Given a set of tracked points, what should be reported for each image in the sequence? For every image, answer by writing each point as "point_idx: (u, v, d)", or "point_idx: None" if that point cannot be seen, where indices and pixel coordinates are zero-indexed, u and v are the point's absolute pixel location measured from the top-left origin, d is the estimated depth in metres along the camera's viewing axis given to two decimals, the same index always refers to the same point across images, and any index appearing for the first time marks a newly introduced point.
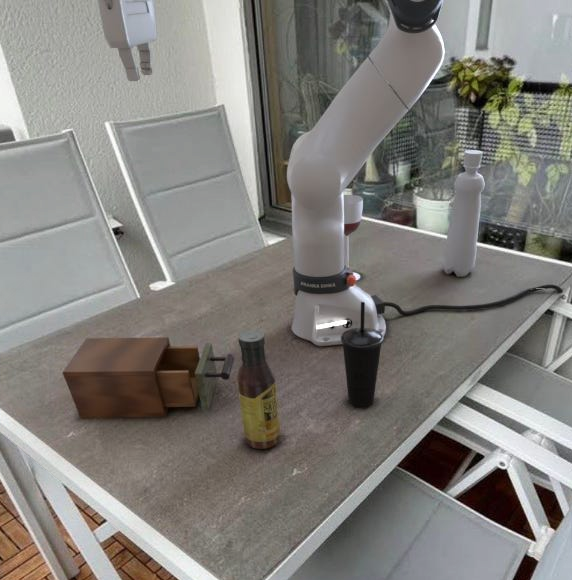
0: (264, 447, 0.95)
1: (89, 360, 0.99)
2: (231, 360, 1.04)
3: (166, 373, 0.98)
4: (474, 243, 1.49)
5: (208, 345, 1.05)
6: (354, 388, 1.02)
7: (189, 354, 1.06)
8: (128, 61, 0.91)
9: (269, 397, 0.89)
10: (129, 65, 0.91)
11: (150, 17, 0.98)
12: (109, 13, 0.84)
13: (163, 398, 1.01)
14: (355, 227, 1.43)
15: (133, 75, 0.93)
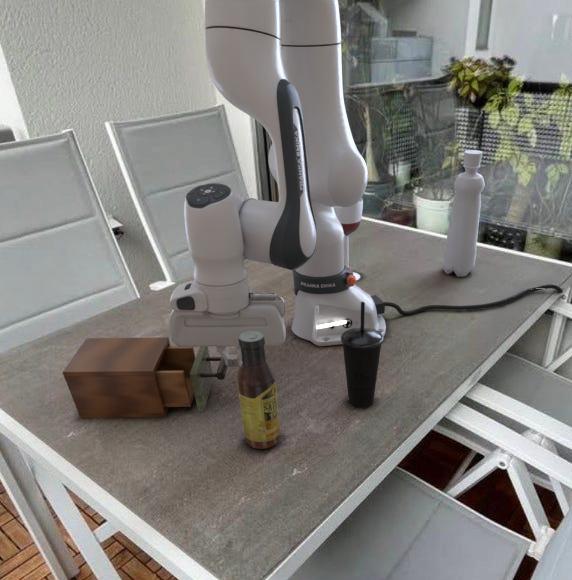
0: (264, 447, 0.95)
1: (89, 360, 0.99)
2: None
3: (161, 373, 0.98)
4: (474, 243, 1.49)
5: None
6: (354, 388, 1.02)
7: (185, 354, 1.06)
8: None
9: (269, 397, 0.89)
10: None
11: None
12: (282, 320, 0.97)
13: None
14: (355, 227, 1.43)
15: (241, 360, 1.02)
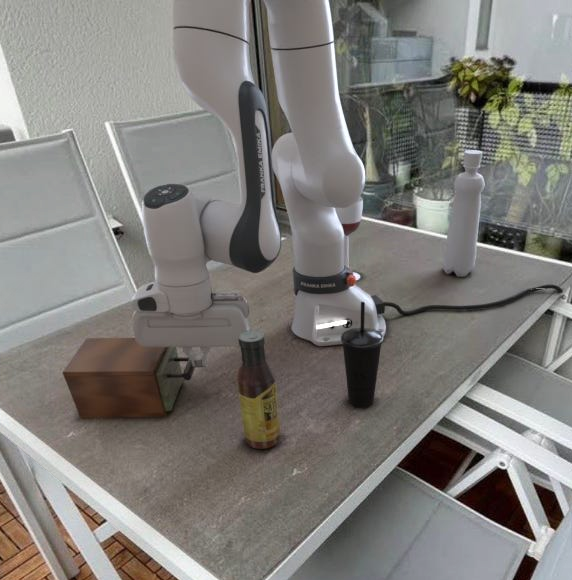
0: (264, 447, 0.95)
1: (89, 360, 0.99)
2: None
3: None
4: (474, 243, 1.49)
5: None
6: (354, 388, 1.02)
7: None
8: None
9: (269, 397, 0.89)
10: None
11: None
12: (246, 321, 0.97)
13: None
14: (355, 227, 1.43)
15: (206, 361, 1.02)
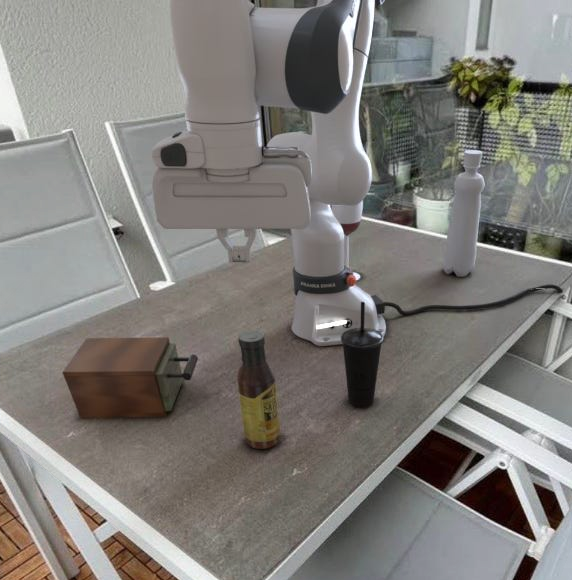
0: (264, 447, 0.95)
1: (89, 360, 0.99)
2: (194, 360, 1.04)
3: None
4: (474, 243, 1.49)
5: (171, 345, 1.05)
6: (354, 388, 1.02)
7: None
8: None
9: (269, 397, 0.89)
10: None
11: None
12: (307, 191, 0.71)
13: None
14: (355, 227, 1.43)
15: (250, 254, 0.76)
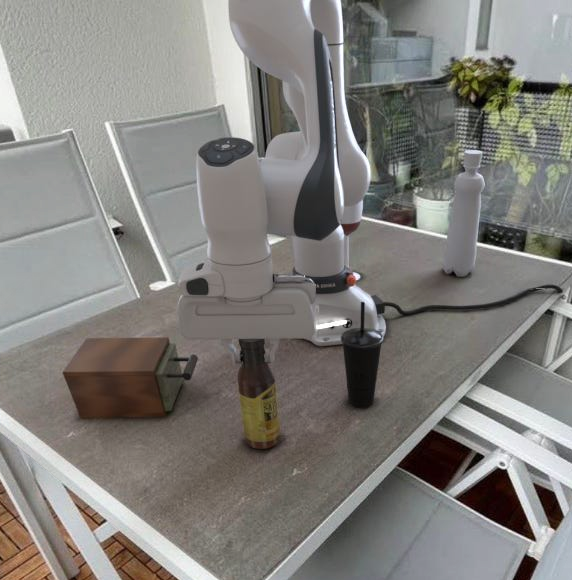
0: (264, 448, 0.95)
1: (89, 360, 0.99)
2: (194, 360, 1.04)
3: None
4: (474, 243, 1.49)
5: (171, 345, 1.05)
6: (354, 388, 1.02)
7: None
8: None
9: (269, 397, 0.89)
10: None
11: None
12: (312, 308, 0.81)
13: None
14: (355, 227, 1.43)
15: None
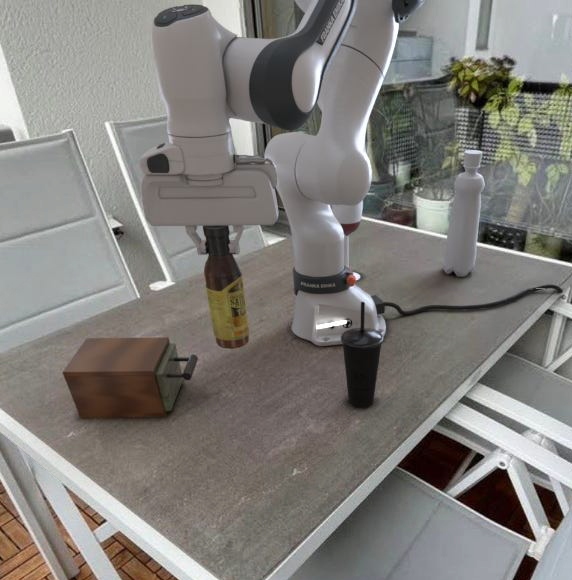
0: (233, 347, 0.96)
1: (89, 360, 0.99)
2: (194, 360, 1.04)
3: None
4: (474, 243, 1.49)
5: (171, 345, 1.05)
6: (354, 388, 1.02)
7: None
8: None
9: (235, 291, 0.90)
10: None
11: None
12: (274, 193, 0.82)
13: None
14: (355, 227, 1.43)
15: (239, 247, 0.88)
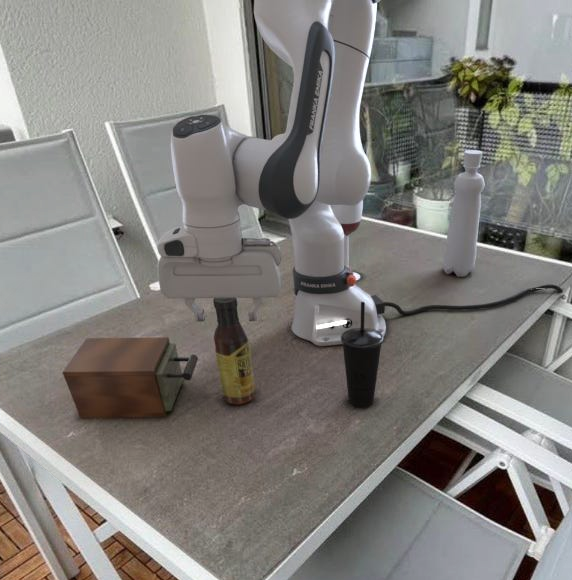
0: (240, 403, 1.05)
1: (89, 360, 0.99)
2: (194, 360, 1.04)
3: None
4: (474, 243, 1.49)
5: (171, 345, 1.05)
6: (354, 388, 1.02)
7: None
8: None
9: (242, 355, 0.99)
10: None
11: None
12: (278, 269, 0.91)
13: None
14: (355, 227, 1.43)
15: (257, 314, 0.97)
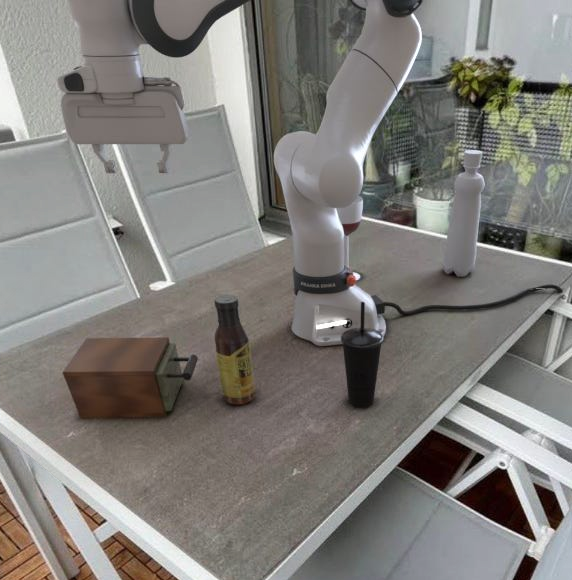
0: (239, 403, 1.05)
1: (89, 360, 0.99)
2: (194, 360, 1.04)
3: None
4: (474, 243, 1.49)
5: (171, 345, 1.05)
6: (354, 388, 1.02)
7: None
8: (168, 155, 0.97)
9: (243, 355, 0.99)
10: (167, 158, 0.97)
11: None
12: (182, 114, 0.93)
13: None
14: (355, 227, 1.43)
15: (167, 167, 0.98)
